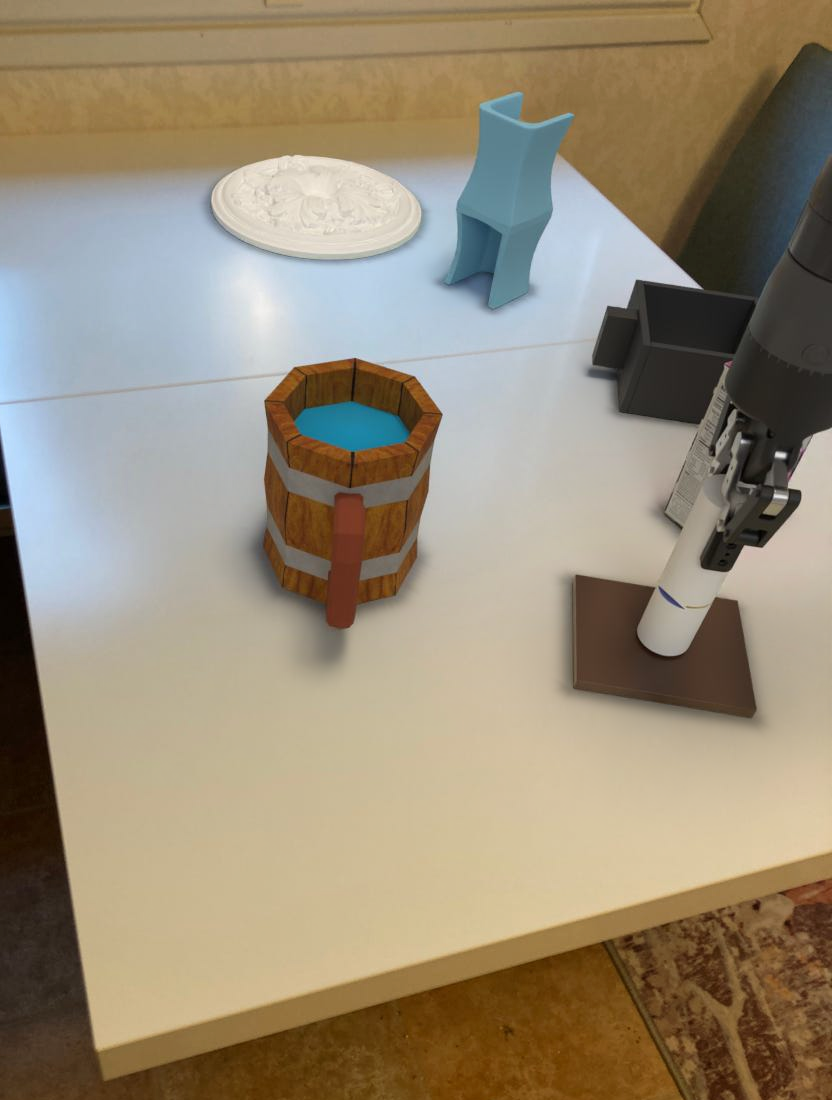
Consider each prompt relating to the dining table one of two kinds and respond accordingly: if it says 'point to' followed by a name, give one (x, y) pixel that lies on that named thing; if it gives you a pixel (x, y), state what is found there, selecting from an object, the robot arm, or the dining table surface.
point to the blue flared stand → (506, 197)
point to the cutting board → (637, 672)
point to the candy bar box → (702, 458)
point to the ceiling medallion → (316, 208)
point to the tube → (686, 578)
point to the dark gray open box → (671, 347)
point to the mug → (346, 481)
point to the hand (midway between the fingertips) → (710, 543)
